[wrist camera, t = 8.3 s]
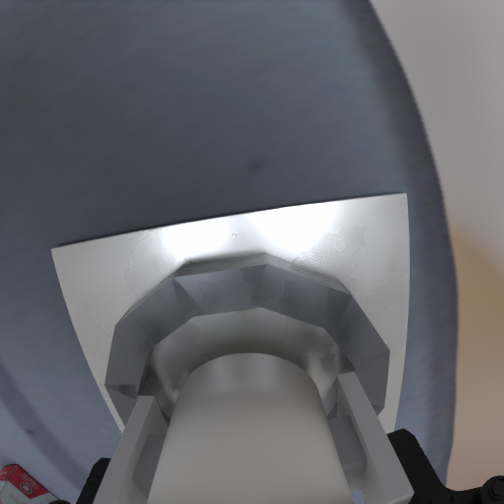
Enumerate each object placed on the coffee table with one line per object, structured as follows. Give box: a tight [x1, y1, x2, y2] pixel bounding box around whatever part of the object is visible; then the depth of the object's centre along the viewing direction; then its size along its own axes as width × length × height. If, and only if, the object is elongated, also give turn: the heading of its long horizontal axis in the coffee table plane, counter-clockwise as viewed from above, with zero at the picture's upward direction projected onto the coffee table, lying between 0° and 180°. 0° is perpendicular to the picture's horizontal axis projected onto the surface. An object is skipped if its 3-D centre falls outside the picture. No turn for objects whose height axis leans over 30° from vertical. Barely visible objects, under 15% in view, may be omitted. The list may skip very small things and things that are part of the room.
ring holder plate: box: [51, 192, 410, 434], centre depth 13 cm, size 16×16×2 cm
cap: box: [132, 353, 367, 504], centre depth 10 cm, size 6×8×6 cm
